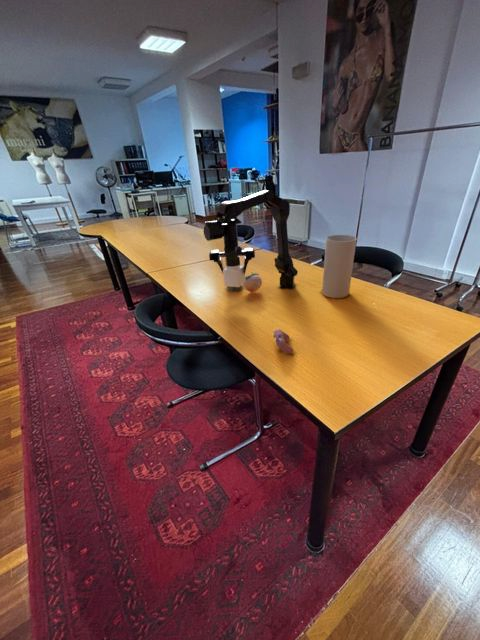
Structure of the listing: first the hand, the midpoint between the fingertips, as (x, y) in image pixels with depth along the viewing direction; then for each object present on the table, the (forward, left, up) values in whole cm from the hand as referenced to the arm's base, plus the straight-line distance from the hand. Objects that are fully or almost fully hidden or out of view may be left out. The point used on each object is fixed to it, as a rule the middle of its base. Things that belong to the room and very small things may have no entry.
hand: (234, 274), depth 128 cm
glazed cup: (+7, -14, -13) cm, 20 cm away
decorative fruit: (-4, -11, -13) cm, 18 cm away
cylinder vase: (-42, -19, -13) cm, 48 cm away
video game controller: (-30, +33, -13) cm, 46 cm away
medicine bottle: (0, 0, -5) cm, 5 cm away
